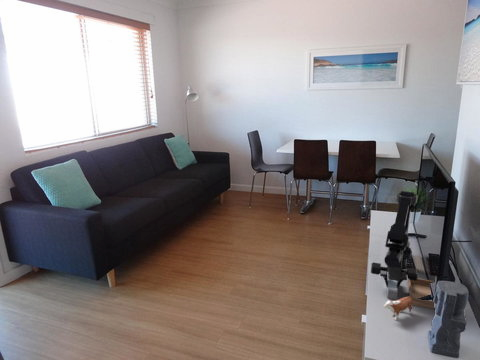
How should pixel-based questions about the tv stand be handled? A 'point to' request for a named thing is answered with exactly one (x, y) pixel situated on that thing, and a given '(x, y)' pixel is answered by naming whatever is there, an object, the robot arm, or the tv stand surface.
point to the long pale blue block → (392, 289)
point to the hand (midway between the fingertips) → (391, 287)
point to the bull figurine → (399, 306)
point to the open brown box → (420, 292)
